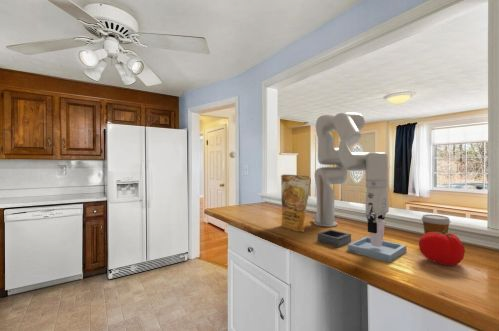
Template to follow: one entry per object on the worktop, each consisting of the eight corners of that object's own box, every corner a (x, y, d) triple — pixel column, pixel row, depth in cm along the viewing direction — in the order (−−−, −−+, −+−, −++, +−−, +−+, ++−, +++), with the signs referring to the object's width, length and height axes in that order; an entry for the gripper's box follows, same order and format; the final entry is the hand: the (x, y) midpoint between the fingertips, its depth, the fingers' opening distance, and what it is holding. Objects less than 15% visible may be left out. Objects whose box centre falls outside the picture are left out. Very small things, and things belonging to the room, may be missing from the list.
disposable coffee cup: (420, 241, 108) (420, 213, 108) (448, 244, 103) (448, 215, 103) (422, 247, 100) (422, 217, 100) (452, 251, 95) (452, 220, 95)
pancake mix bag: (285, 223, 140) (285, 174, 140) (312, 231, 125) (311, 175, 125) (276, 225, 137) (276, 174, 136) (302, 233, 121) (302, 175, 121)
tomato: (450, 273, 77) (450, 238, 77) (410, 258, 89) (410, 229, 89) (474, 265, 83) (474, 233, 83) (434, 253, 94) (434, 225, 94)
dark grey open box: (317, 241, 109) (317, 233, 109) (330, 237, 115) (330, 229, 115) (338, 247, 101) (338, 238, 101) (351, 242, 108) (351, 234, 108)
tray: (347, 250, 97) (347, 244, 97) (366, 242, 107) (366, 236, 107) (390, 262, 86) (390, 255, 86) (406, 251, 96) (406, 245, 95)
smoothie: (382, 242, 99) (382, 207, 99) (388, 248, 93) (388, 210, 93) (365, 241, 100) (365, 207, 100) (369, 247, 94) (369, 210, 94)
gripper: (376, 186, 88) (376, 237, 88) (395, 183, 99) (395, 228, 99) (355, 185, 94) (355, 232, 94) (376, 182, 105) (376, 225, 105)
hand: (376, 230), depth 97 cm, fingers closed on smoothie, 6 cm apart
